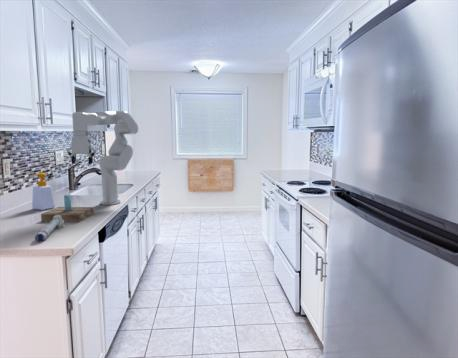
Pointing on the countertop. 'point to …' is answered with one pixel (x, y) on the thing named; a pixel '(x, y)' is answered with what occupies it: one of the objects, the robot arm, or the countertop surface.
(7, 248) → the countertop surface
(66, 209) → the peg
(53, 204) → the soap bottle
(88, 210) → the socket block
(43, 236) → the white handheld massager
